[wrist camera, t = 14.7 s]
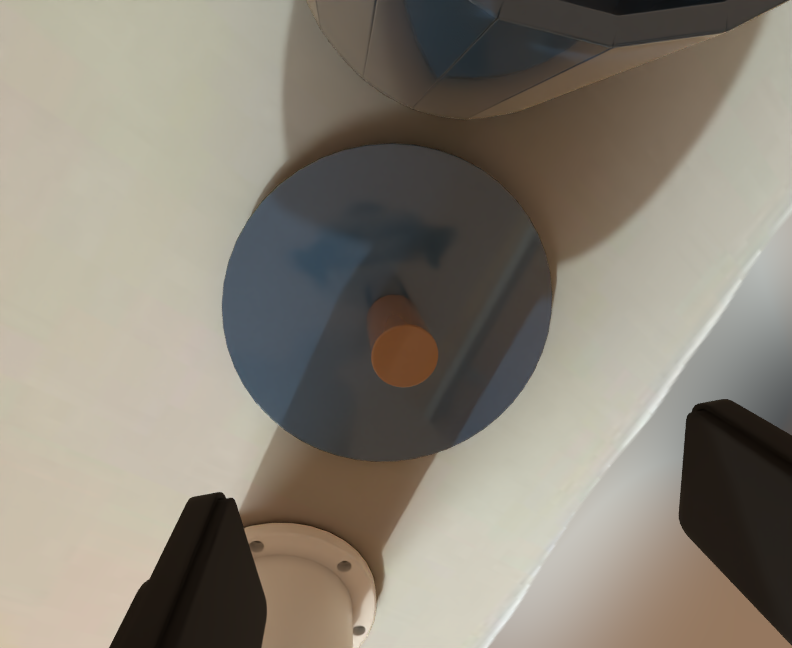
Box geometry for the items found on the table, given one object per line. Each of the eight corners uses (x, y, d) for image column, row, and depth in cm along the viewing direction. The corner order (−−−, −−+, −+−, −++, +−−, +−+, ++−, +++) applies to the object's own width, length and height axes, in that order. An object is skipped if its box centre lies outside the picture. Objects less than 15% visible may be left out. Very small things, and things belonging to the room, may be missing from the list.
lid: (547, 422, 27) (602, 489, 22) (269, 473, 27) (247, 557, 21) (537, 121, 22) (606, 101, 16) (186, 172, 21) (125, 170, 15)
